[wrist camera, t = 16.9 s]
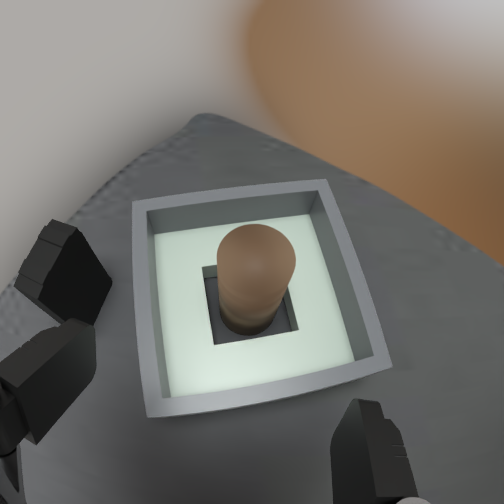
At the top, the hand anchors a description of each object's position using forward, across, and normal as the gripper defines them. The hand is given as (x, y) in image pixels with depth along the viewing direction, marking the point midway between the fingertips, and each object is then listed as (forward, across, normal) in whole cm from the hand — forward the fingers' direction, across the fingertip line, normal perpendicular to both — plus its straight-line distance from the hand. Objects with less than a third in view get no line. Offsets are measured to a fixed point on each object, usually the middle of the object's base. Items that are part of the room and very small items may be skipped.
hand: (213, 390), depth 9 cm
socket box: (+14, 0, +4) cm, 15 cm away
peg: (+14, 0, +4) cm, 15 cm away
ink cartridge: (+12, +12, +6) cm, 18 cm away
